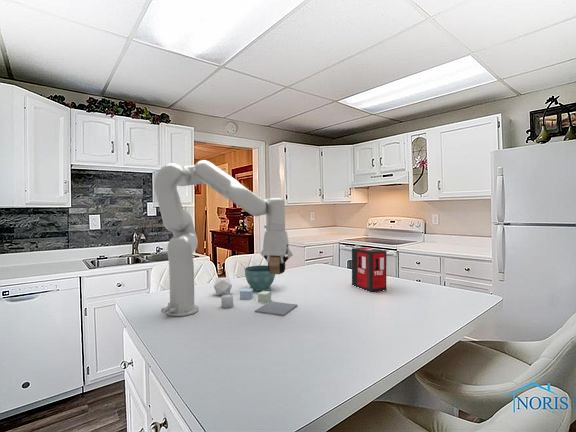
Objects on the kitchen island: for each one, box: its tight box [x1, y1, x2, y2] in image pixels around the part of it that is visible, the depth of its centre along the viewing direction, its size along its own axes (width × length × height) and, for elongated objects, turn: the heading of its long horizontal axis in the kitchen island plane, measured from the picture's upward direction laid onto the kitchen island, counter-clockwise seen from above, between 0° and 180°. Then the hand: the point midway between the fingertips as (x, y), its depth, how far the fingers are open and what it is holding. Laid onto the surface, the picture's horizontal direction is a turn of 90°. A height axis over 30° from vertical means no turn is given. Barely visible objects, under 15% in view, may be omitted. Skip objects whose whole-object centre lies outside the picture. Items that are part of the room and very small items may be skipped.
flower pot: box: [244, 264, 276, 292], centre depth 168 cm, size 16×16×11 cm
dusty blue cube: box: [239, 288, 254, 301], centre depth 152 cm, size 5×5×4 cm
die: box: [213, 276, 232, 297], centre depth 158 cm, size 8×9×10 cm
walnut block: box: [269, 256, 285, 275], centre depth 135 cm, size 4×4×7 cm
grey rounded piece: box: [220, 294, 234, 309], centre depth 139 cm, size 5×5×4 cm
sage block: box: [257, 290, 272, 304], centre depth 147 cm, size 5×4×4 cm
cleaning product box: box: [351, 246, 387, 293], centre depth 168 cm, size 16×9×20 cm, turn 25°
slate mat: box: [254, 300, 298, 317], centre depth 135 cm, size 14×13×1 cm
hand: (276, 271), depth 135 cm, fingers closed on walnut block, 4 cm apart
